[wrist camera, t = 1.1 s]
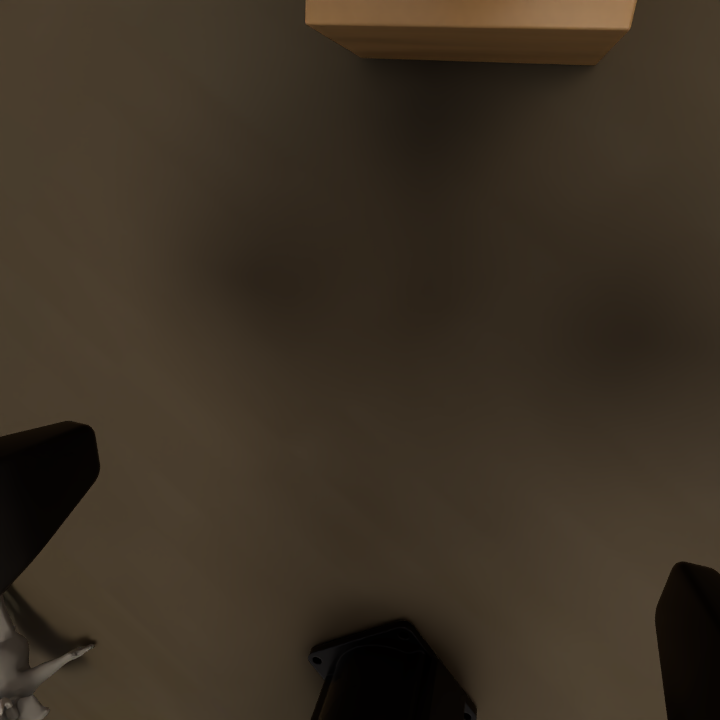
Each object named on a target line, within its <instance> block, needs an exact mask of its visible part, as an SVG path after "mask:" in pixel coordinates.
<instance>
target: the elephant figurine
mask: <svg viewBox="0 0 720 720" xmlns="http://www.w3.org/2000/svg"><path fill="white" fill-rule="evenodd" d="M91 648H94V644H90V645H88V646H85V647H78V648H76V649H73V650H71V651H69V652H68V653H66V654H65V655H63V656H61V657H59V658H56V659H53V660H50V661H47V662H45V663H42V664H40V665H38V666H36V667H34V668H30V666H29V643H28V641H27V639H26V638H25V637H23V636H22V635H20V634H18V633H17V632H16V631H15V626H13V623H12V620H11V618H10V616H9V613H8V611H7V608H6V605H5V602H4V598H3V594H2V595H1V596H0V720H42V719H43V718H44V717H45V716H46V715H47V714H48V713H49V712H50V709H49V708H47V707H44V706H42V705H41V703H40V702H39V701H38V699H37V698H36V697H35V696H34V695H32V694H33V693H34V691H35V690H36V689H37V688H38V686H39V685H40V684H41V683H43V682H44V681H45V680H46V679H47V678H49V677H50V676H51V675H53V674H54V673H55V672H56V671H57V670H58V669H60V668H61V667H62V666H63V665H65V664H66V663H67V662H69V661H70V660H73V659H76V658H78V657H80V656H81V655H83V654H84V653H85V652H86V651H88V650H90V649H91ZM28 696H29V697H28Z"/></svg>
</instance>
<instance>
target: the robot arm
mask: <svg viewBox="0 0 720 720" xmlns="http://www.w3.org/2000/svg"><path fill="white" fill-rule="evenodd" d="M99 471H100V462H99V456H98V449H97V443H96V437H95V432H94V430H93V429H92V427H90V426H89V425H86V424H81V423H77V422H72V421H64V422H60V423H56V424H52V425H47V426H43V427H39V428H35V429H31V430H27V431H22V432H18V433H14V434H10V435H6V436H2V437H0V596H1V595H2V594H3V593H4V592H5V590H6V589H7V588H8V587H9V586H10V585H11V584H12V583H13V582H14V581H15V580H16V579H17V577H18V576H19V575H20V574H21V573H22V572H23V571H24V570H25V569H26V568H27V567H28V565H29V564H30V563H31V562H32V561H33V560H34V559H35V557H36V556H37V555H38V554H39V553H40V552H41V550H42V549H43V548H44V547H45V545H46V544H47V543H48V542H49V540H50V539H51V538H52V536H53V535H54V534H55V533H56V531H57V530H58V529H59V527H60V526H61V525H62V524H63V522H64V521H65V520H66V518H67V517H68V516H69V515H70V513H71V512H72V511H73V509H74V508H75V507H76V506H77V504H78V503H79V502H80V500H81V499H82V498H83V496H84V495H85V494H86V493H87V491H88V490H89V489H90V487H91V486H92V485H93V484H94V482H95V481H96V479H97V477H98V475H99ZM655 626H656V634H657V641H658V649H659V657H660V665H661V672H662V680H663V688H664V696H665V703H666V711H667V719H668V720H720V574H719V573H718V572H717V571H716V570H714V569H712V568H709V567H705V566H701V565H696V564H692V563H688V562H678V563H676V564H675V565H674V567H673V568H672V570H671V572H670V575H669V577H668V580H667V582H666V585H665V587H664V590H663V592H662V594H661V597H660V599H659V602H658V604H657V608H656V614H655ZM403 631H404V632H403ZM308 660H309V662H310V663H311V664H312V666H313V667H314V668H315V669H316V670H317V672H318V673H319V674H320V675H321V677H322V678H323V679H324V680H325V681H324V684H323V687H322V689H321V692H320V695H319V698H318V701H317V703H316V706H315V709H314V712H313V715H312V717H311V720H476V715H477V709H476V707H475V705H474V704H473V703H472V701H471V700H470V699H469V698H468V696H467V695H466V694H465V692H464V691H463V690H462V688H461V687H460V686H459V684H458V683H457V682H456V681H455V679H454V678H453V677H452V675H451V674H450V673H449V671H448V670H447V669H446V667H445V666H444V665H443V664H442V662H441V661H440V660H439V658H438V657H437V656H436V654H435V653H434V652H433V650H432V649H431V648H430V647H429V645H428V644H427V643H426V641H425V640H424V639H423V637H422V636H421V635H420V633H419V632H418V631H417V630H416V628H415V627H414V626H413V625H412V624H411V623H410V622H408V621H404V620H402V621H397V622H394V623H391V624H387V625H384V626H381V627H377V628H374V629H371V630H368V631H364V632H361V633H358V634H355V635H351V636H348V637H345V638H342V639H338V640H335V641H332V642H329V643H325V644H322V645H319V646H316V647H313V648H312V649H311V651H310V654H309V656H308Z"/></svg>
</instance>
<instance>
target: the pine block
mask: <svg viewBox="0 0 720 720" xmlns="http://www.w3.org/2000/svg"><path fill="white" fill-rule="evenodd" d="M636 3H637V0H306V10H305V23H306V25H308V26H309V27H311V28H313V29H314V30H316V31H318V32H319V33H321V34H323V35H324V36H326V37H328V38H329V39H331V40H333V41H334V42H336V43H338V44H339V45H341V46H343V47H344V48H346V49H348V50H349V51H351V52H353V53H354V54H356V55H358V56H359V57H361V58H378V59H409V60H440V61H471V62H502V63H533V64H564V65H596V64H597V63H598V62H599V61H600V60H601V59H602V58H603V57H604V56H605V55H606V54H607V53H608V52H609V51H610V49H611V48H612V47H613V46H614V45H615V44H616V43H617V42H618V41H619V40H620V39H621V38H622V37H623V36H624V35H625V34H626V33H627V32H628V31H629V30H630V28H631V24H632V20H633V16H634V11H635V7H636Z"/></svg>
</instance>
